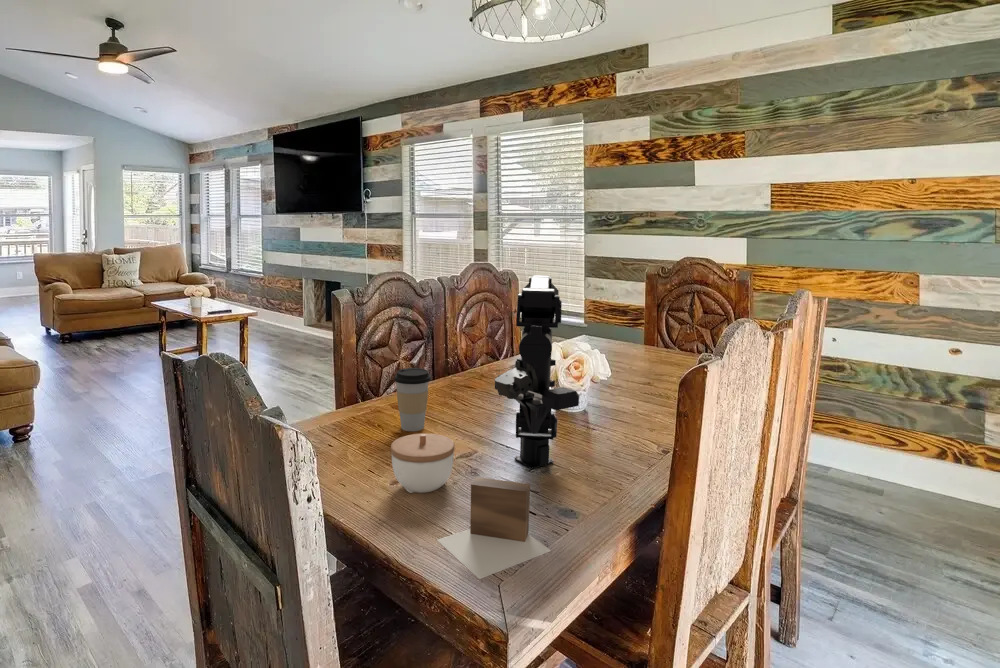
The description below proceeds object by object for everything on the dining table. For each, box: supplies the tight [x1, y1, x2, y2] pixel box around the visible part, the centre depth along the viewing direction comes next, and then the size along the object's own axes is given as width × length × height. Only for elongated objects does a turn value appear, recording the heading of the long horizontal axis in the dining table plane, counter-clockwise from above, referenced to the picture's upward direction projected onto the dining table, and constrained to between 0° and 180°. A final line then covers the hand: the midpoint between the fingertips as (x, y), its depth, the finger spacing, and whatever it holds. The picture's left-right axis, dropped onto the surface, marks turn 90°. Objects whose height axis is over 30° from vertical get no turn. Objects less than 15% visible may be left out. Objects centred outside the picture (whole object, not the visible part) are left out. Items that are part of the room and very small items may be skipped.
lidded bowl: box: [390, 433, 456, 494], centre depth 117 cm, size 13×13×11 cm
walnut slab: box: [469, 476, 531, 542], centre depth 99 cm, size 3×10×9 cm, turn 76°
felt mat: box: [436, 528, 552, 580], centre depth 96 cm, size 13×14×1 cm
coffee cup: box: [393, 367, 432, 432], centre depth 150 cm, size 9×9×15 cm
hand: (533, 433), depth 114 cm, fingers closed
